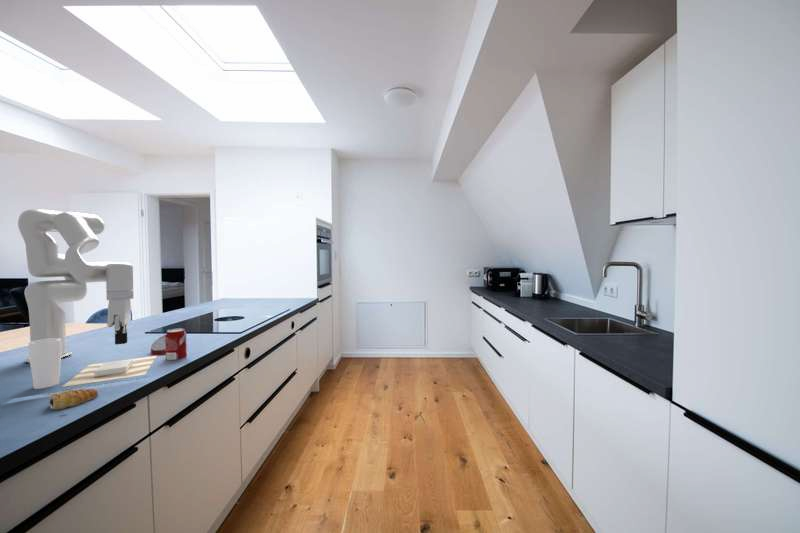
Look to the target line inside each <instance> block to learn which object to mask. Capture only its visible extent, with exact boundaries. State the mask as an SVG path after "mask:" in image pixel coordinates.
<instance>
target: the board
mask: <svg viewBox="0 0 800 533" xmlns="http://www.w3.org/2000/svg"><path fill="white" fill-rule="evenodd" d="M157 357H158V355H152V356H146V357H137V358H132V359H133V365H132V366H131V367H130V368H129V369H128V371H127V372H124V373H117V374H110V375H103V376H96V377H95V370H97V369H98V368H99V367H100V366H101V365H102V364H103V363H104V362H98V363H90V364H88V365H87V366H86V367H85V368H83V369H82V370H81V371H79V372H78V373H77V374H76V375H75V376H73V377H72V378H71V379H69V380H68V381H67V382H66V383H65V384H63V385H62V386H61V388H67V387H74V386H79V385H87V384H93V383H100V382H106V381H113V380H119V379H124V378H125V379H126V378H131V377H132V379H130V381H131V380H133V377H137V376H138V377H139V376H143V378H144V379H145V378H146V377H145V376H146V375H147V372H148V371H149V369H150V368H151V366H152V364H153V363H154V361H155V360H156V359H157ZM113 361H114V360H113ZM113 361H111V362H113ZM119 361H121V360H120V359H119ZM144 375H145V376H144ZM138 379H140V377H139V378H136V380H138ZM117 382H120V381H117ZM113 383H114V381H113V382H111V384H113ZM105 384H106V385H107V384H108V383H105ZM100 385H101V383H100V384H98V386H100ZM79 389H82V387H79ZM69 390H70V389H67V391H69ZM73 390H76V388H75V387H74V388H73ZM61 392H63V390H61Z"/></svg>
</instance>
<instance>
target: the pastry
mask: <svg viewBox="0 0 800 533" xmlns="http://www.w3.org/2000/svg"><path fill="white" fill-rule="evenodd" d="M98 396H99V393H98V390H97V389H94V388H87V389H82V388H78V389H69V390H67V391H61V392H58V393H54V394H51V395H50V398H49V400H48V404H49V408H50V409H51V410H53V411H56V410H58V411H60V410H64V409H66V408H67V407H75V406H78V405H81V404H80V403H82V404H84V403H86V402H85V401H87V402H89V401H88V400H90V401H92V400H94V399H95V398H97V397H98ZM91 399H92V400H91ZM83 402H84V403H83ZM77 404H78V405H77ZM74 405H75V406H74ZM59 409H60V410H59Z"/></svg>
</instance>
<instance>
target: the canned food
mask: <svg viewBox="0 0 800 533" xmlns="http://www.w3.org/2000/svg"><path fill="white" fill-rule="evenodd" d="M166 334H167V333H166ZM166 334H164V335H162V336H160V337H159V338H157V339H156V340H155V341H153V342H152V344H151V346H150V354H151V355H152V356H158V355H166V348H165V335H166Z"/></svg>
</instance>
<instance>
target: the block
mask: <svg viewBox="0 0 800 533" xmlns="http://www.w3.org/2000/svg"><path fill="white" fill-rule="evenodd" d="M133 359H134V358H129V359H122V360H121V361H120V360H113V362H112V361H104V362H102V363H103V364H102V365H101V366H100V367H99V368H98V369H97V370H95V377H96V376H103V375H110V374H117V373H124V372H127V371H128V369H129V368H130V367H131V366H132V365H133Z"/></svg>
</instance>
